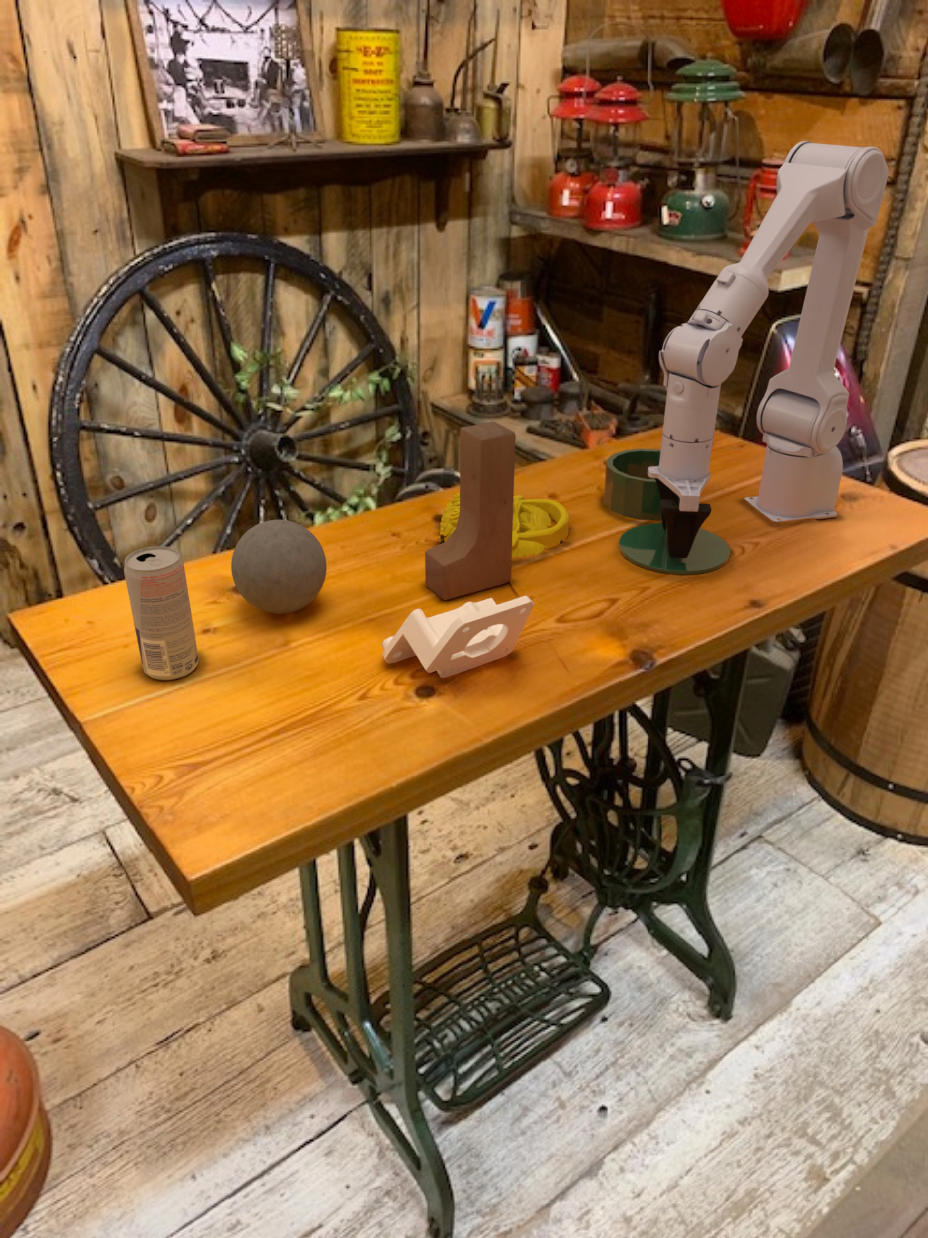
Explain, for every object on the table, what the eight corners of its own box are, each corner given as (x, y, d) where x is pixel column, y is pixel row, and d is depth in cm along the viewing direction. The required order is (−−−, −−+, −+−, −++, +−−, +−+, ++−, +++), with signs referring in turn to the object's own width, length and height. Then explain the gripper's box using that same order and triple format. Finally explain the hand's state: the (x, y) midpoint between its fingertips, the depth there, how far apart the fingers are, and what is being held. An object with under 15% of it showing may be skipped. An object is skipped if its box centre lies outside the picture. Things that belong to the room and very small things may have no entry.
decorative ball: (309, 636, 102) (302, 549, 97) (221, 624, 104) (209, 539, 99) (342, 591, 111) (336, 509, 106) (259, 581, 113) (250, 500, 108)
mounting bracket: (404, 702, 95) (427, 635, 87) (375, 653, 98) (394, 584, 90) (506, 666, 101) (535, 600, 93) (475, 620, 104) (501, 552, 96)
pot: (667, 485, 138) (672, 445, 135) (707, 518, 128) (713, 476, 125) (590, 493, 135) (593, 452, 132) (624, 528, 125) (628, 485, 122)
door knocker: (591, 539, 123) (593, 508, 121) (491, 574, 114) (492, 541, 112) (506, 496, 134) (507, 467, 132) (409, 526, 126) (409, 495, 123)
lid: (697, 525, 126) (701, 493, 124) (749, 571, 115) (755, 537, 113) (601, 537, 123) (604, 504, 121) (645, 585, 112) (649, 550, 110)
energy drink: (177, 646, 100) (159, 540, 94) (210, 664, 97) (194, 556, 91) (132, 668, 97) (110, 559, 91) (165, 688, 94) (145, 577, 88)
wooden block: (443, 602, 109) (442, 447, 99) (424, 585, 112) (421, 433, 103) (512, 583, 112) (517, 432, 103) (491, 567, 116) (494, 419, 107)
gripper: (647, 412, 118) (636, 516, 125) (658, 455, 105) (645, 568, 112) (706, 414, 118) (692, 518, 124) (724, 458, 105) (708, 571, 112)
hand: (674, 542), depth 118 cm, fingers open, 7 cm apart
